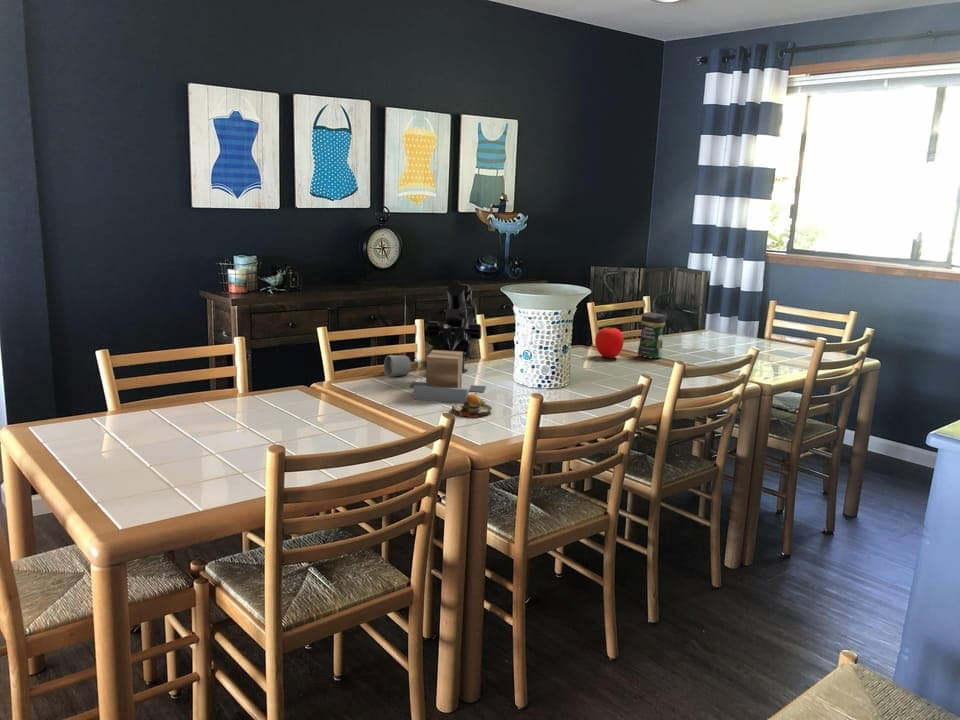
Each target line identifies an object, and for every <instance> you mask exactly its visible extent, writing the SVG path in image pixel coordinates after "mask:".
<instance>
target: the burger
mask: <svg viewBox="0 0 960 720" xmlns="http://www.w3.org/2000/svg"><path fill="white" fill-rule="evenodd" d="M486 403H487V401H484V399H482V398H481V397H480V396H479V395H477V392H474V393H470V394H469V395H468V396H467V398H466V402H458V403H455V404H454V405H452V407H451V412H452V413H453V414H455V415H456V416H458V417H461V416H463V417H464V416H465V417H467V418H477V419H478V418H479V419H480V418H485V417H489V416H491V415H492V412H491V410H492V409H493V408H492V406H490V405H489V404H486Z"/></svg>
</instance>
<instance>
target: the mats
mask: <svg viewBox="0 0 960 720" xmlns="http://www.w3.org/2000/svg"><path fill="white" fill-rule="evenodd" d="M415 385H417V386H426V381H424V382H423V381H412V382H411V383H410V385H408V389H414V386H415ZM486 387H487V386H486V385H474V384H471V385H470V387H469V393H475V392H476V393H485V390H486Z"/></svg>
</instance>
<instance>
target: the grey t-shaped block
mask: <svg viewBox="0 0 960 720" xmlns="http://www.w3.org/2000/svg"><path fill="white" fill-rule="evenodd" d="M469 389H470V388H469ZM469 389H468V388H464V387H463V388H449V387H433V386H417V385H415V386H414V388H413V399H414V400H424V401H425V400H426V401H440V402H441V401H442V402H443V401H444V402H457V403H464V402H466V398H467V396H468V395H470V394H469V393H470V392H469Z"/></svg>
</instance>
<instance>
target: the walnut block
mask: <svg viewBox="0 0 960 720" xmlns="http://www.w3.org/2000/svg"><path fill="white" fill-rule="evenodd" d="M462 362H463V352H462V351H445V349H444V350H439V349H432V350H431V351H430V353H429V354H428V355H427V356H426V373H425V376H426V377H425V382H426V386H433V387H449V388H462V385H463V384H462V383H463V373H462Z"/></svg>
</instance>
